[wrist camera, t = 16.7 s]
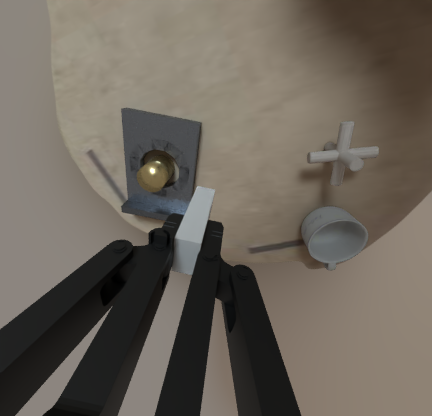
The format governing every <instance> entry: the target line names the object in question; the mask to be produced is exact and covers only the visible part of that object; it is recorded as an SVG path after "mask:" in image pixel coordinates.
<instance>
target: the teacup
mask: <svg viewBox="0 0 432 416" xmlns="http://www.w3.org/2000/svg"><path fill="white" fill-rule="evenodd" d="M301 234H302V237H303V240H304V242H305V244H306V246H307V248H308V251H309V253H310V255H311V256H312V257H313V258H314V259H315V260H317V261H320V262H323V264H324V266H325V268H326V269H327V270H335V268H336V263H339V262H343V261H346V260H349V259H351V258H353V257H354V256H356V255H357V254H358V253H360V252H361V251H362V250H363V248H364V247H365V245H366V244H367V241H368V232H367V229H366V228H365V227H364V225H362V224H361V223H360V222H358V221H357V220H356V219H355V218H354V217H353V216H352V215H351V214H349V213H348V212H347V211H345V210H343V209H341V208H339V207H334V206H326V207H321V208H318V209H316V210H314V211H312V212H311V213H310V214H309V215H308V216H307V217H306V218H305V219H304V221H303V223H302V226H301Z"/></svg>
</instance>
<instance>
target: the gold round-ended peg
mask: <svg viewBox="0 0 432 416" xmlns="http://www.w3.org/2000/svg"><path fill="white" fill-rule="evenodd" d="M174 170H175V166H174V163H173V161H172V160H171V159H170V158H169V157H167V156H165V155H157V156H155V157H154V158H153V159H152V160H150V161H149V162H148V163H147V164H145V165H144V166H143V167H142V168H141V169H139V171H138V173H137V181H138V183H139V185H140V186H141V187H142V188H143V189H145V190H146V191H149V192H157V191H159V190H161V189H162V188H163V186H164V185H165V184H166V182H167V181H168V180H169V178H170V177H171V176H172V175H173V173H174Z"/></svg>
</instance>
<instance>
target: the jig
mask: <svg viewBox="0 0 432 416" xmlns="http://www.w3.org/2000/svg"><path fill="white" fill-rule="evenodd" d="M121 112H122V125H123V138H124V152H125V165H126V178H127V191H128V200H127V201H126V202H125V203H124V204H123V205H122V206H121V207H122V212H124V213H129V214H134V215H139V216H144V217H150V218H155V219H160V220H165V221H166V219H167V218H168V216H169V215H171V214H172V213H177V214H182V215H185V213H186V211H187V209H188V206H189V204H190V202H191V199H192V197H193V190H194V181H195V173H196V164H197V156H198V148H199V139H200V131H201V122H197V121H192V120H187V119H182V118H177V117H171V116H166V115H161V114H156V113H151V112H146V111H141V110H136V109H130V108H122V109H121ZM153 149H156V150H161V151H166V152H167V153H168V154H169V155H171V156H172V157H173V158H175V160H176V163H177V165H178V167H179V178H178V179H177V181H176V182H174V183H170V184H165V185H164V186H163V188H162V189H161V190H159V191H157V192H149V191H146V190H145V189H143V188H142V187H141V186H140V185H139V183H138V181H137V173H138V171H139V169H141V168H142V167H143V166H144V157H145V155H146V154H147V152H148V151H151V150H153Z"/></svg>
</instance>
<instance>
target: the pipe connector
mask: <svg viewBox="0 0 432 416" xmlns="http://www.w3.org/2000/svg"><path fill="white" fill-rule="evenodd" d="M354 123H355V122H353V121H345V122H341V123H340V128H339V134H338V140H337V145H336V144H334V143H332V142H329V143H327V144H326V145H325V147H324V150H325V151H319V152H309V153H308V155H307V161H308V163H320V162H332V161H334V163H333V169H332V174H331V180H330V184H331V185H335V186H339V185H341V184H342V181H343V176H344V171H345V167H348V168H349V169H350V170H352V171H358V170H360V169H361V168H362V167H363V165H364V161H363V160H362V159H366V158H376V157H377V156H378V154H379V149H378V147H377V146H372V147H362V148H351V149H349V147H350V142H351V137H352V133H353V128H354Z"/></svg>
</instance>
